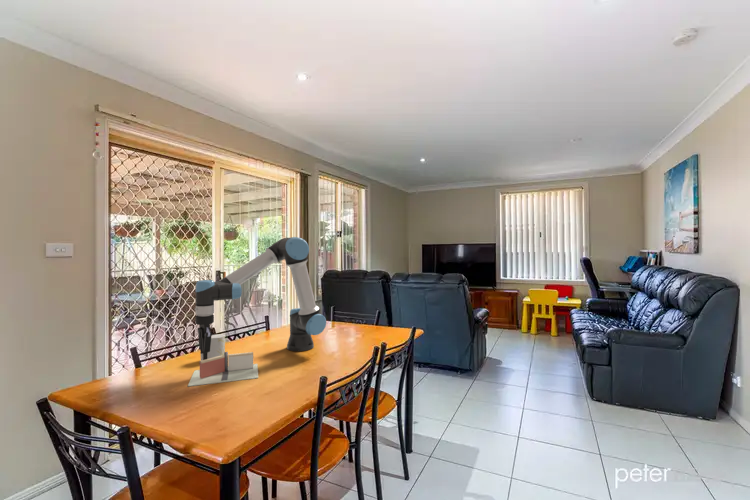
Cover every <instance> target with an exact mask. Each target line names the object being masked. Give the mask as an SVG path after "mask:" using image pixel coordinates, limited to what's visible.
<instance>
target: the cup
mask: <svg viewBox="0 0 750 500" xmlns="http://www.w3.org/2000/svg"><path fill="white" fill-rule="evenodd" d="M225 349H226V335H225V334H223V333H222V334H212V336H211V345H210V352H208V359H209V358H213V357H217V356H221V355H224V352H226V350H225Z"/></svg>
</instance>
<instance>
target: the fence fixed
mask: <svg viewBox="0 0 750 500" xmlns="http://www.w3.org/2000/svg"><path fill="white" fill-rule="evenodd" d="M224 356H225V371H233V370H242V369H251V368H253V364H254V352H253V351H249V352H240V353H239V352H238V353H229V352H228V351H225V352H224Z"/></svg>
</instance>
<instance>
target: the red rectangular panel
mask: <svg viewBox="0 0 750 500" xmlns="http://www.w3.org/2000/svg"><path fill="white" fill-rule="evenodd" d="M199 370H200V378H204V377H208V376H211V375H214V374H218V373H221V372H224V371H225V356H224V355H221V356H217V357H213V358H209V359H205V360H201V359H200V360H199Z"/></svg>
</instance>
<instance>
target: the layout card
mask: <svg viewBox="0 0 750 500" xmlns="http://www.w3.org/2000/svg"><path fill="white" fill-rule="evenodd" d="M258 365H259V364H258V363H253V368H251V369H242V370H233V371H224V372H221V373H218V374H214V375H211V376H208V377H204V378H200V369H197V370H196V369H195V370H194V372H193V373H192V375H191V377H190V380H189V382H188V384H187V387H188V388H189V387H195V386H196V387H197V386H204V385H212V384H213V385H214V384H221V383H230V382H239V381H245V380H253V379H254V380H255V379H259V367H258Z"/></svg>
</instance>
